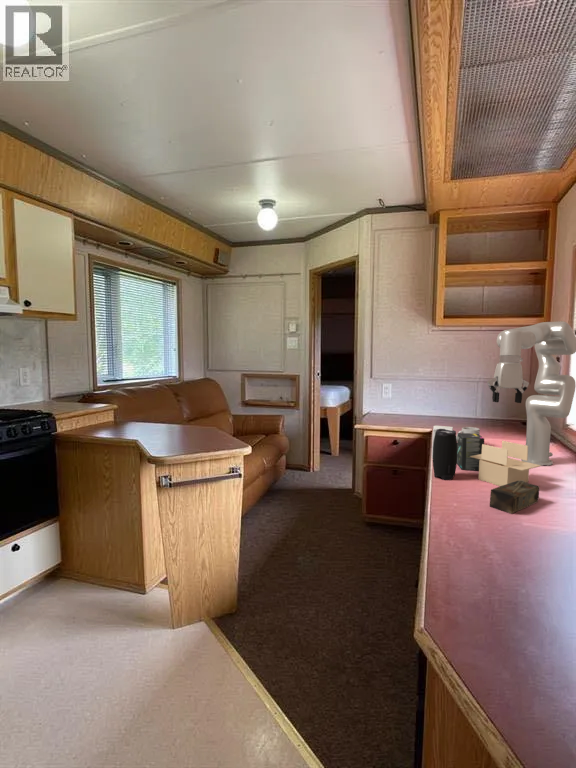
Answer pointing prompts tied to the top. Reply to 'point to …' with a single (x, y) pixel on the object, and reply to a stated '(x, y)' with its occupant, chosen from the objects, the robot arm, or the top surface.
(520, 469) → the carton
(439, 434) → the portable speaker
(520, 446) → the flap
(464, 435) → the tampon box
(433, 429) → the supplement box
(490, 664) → the top surface
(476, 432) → the mug
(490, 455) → the flap
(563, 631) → the top surface
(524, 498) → the beverage carton
